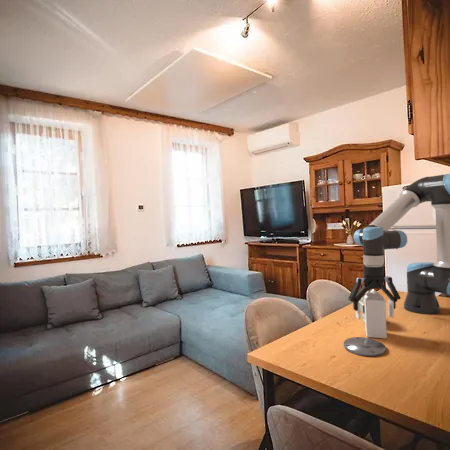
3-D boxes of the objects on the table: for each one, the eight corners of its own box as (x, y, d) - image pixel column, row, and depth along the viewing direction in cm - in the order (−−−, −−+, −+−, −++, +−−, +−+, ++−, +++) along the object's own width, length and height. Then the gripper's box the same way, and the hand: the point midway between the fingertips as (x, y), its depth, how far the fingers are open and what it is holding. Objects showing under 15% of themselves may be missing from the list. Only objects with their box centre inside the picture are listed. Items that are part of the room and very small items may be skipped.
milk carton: (384, 332, 129) (382, 286, 129) (386, 339, 123) (385, 291, 122) (365, 330, 132) (363, 286, 131) (367, 337, 125) (365, 290, 124)
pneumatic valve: (368, 317, 147) (367, 292, 146) (377, 327, 135) (377, 299, 135) (355, 318, 147) (355, 292, 147) (364, 327, 136) (363, 299, 135)
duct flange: (373, 339, 123) (373, 336, 123) (393, 355, 109) (393, 351, 109) (338, 341, 123) (338, 338, 123) (353, 357, 109) (353, 354, 109)
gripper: (398, 262, 130) (399, 313, 131) (339, 265, 130) (340, 315, 130) (409, 265, 123) (410, 319, 123) (346, 268, 122) (348, 322, 123)
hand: (374, 317), depth 127 cm, fingers open, 13 cm apart
